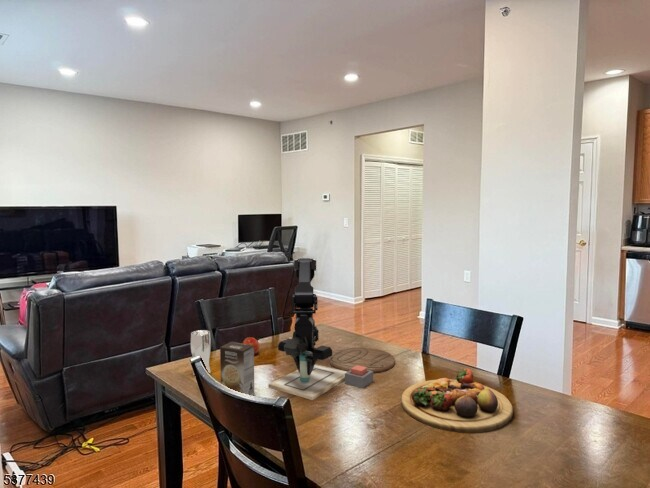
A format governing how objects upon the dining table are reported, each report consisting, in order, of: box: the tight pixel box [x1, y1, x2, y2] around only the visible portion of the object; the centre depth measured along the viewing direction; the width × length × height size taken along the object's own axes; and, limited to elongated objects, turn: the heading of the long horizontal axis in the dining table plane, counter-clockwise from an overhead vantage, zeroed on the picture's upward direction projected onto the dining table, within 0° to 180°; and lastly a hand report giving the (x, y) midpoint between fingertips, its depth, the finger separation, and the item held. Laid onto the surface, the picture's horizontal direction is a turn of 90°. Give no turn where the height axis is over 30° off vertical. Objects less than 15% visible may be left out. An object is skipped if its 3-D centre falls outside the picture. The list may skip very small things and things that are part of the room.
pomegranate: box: [242, 336, 261, 355], centre depth 181 cm, size 7×7×10 cm
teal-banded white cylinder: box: [299, 352, 310, 382], centre depth 150 cm, size 3×3×9 cm
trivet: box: [328, 347, 395, 375], centre depth 172 cm, size 25×25×2 cm
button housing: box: [344, 370, 374, 389], centre depth 152 cm, size 7×7×4 cm
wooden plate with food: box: [400, 368, 514, 434], centre depth 134 cm, size 32×32×8 cm
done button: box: [351, 365, 367, 376], centre depth 152 cm, size 4×4×3 cm
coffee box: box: [219, 341, 255, 396], centre depth 142 cm, size 9×6×16 cm
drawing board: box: [267, 363, 347, 401], centre depth 153 cm, size 24×18×1 cm
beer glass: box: [190, 329, 212, 376], centre depth 160 cm, size 7×7×15 cm
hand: (304, 373), depth 150 cm, fingers closed on teal-banded white cylinder, 3 cm apart
